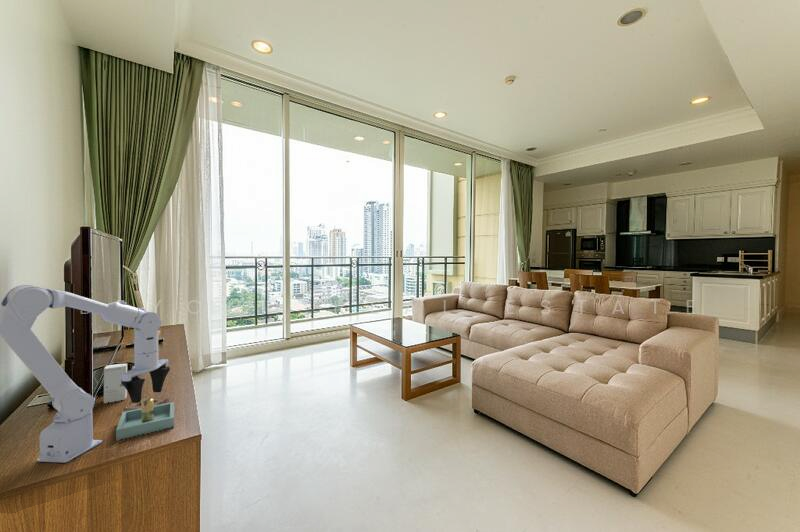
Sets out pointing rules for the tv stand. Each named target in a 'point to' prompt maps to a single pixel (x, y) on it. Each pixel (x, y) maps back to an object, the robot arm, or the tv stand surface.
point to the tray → (134, 426)
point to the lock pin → (147, 409)
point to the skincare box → (114, 383)
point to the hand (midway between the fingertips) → (147, 396)
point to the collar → (138, 405)
